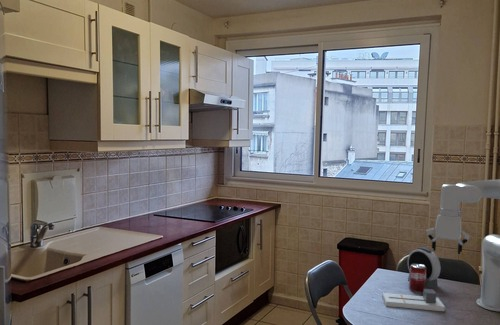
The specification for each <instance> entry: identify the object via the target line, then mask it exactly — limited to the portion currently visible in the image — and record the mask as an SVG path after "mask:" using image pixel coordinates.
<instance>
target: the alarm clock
mask: <svg viewBox="0 0 500 325" xmlns="http://www.w3.org/2000/svg"><path fill="white" fill-rule="evenodd" d="M406 262H407V268H408V271H409V272H410V266H411V264H421V265H424V266H426V268H427V270H426V287H425V289H433V288H437V287H438V286H439V285H438V278H439V276H440V274H441V270H442V268H441V262H440V259H439V257H438V256H437V254H436V253H435V252H433V251H432V250H431V249H430V248H428V247H426V246H422V247H421V246H420V247H417V249H414V250H412V251H410V253H409V254H408V257H407V261H406ZM409 280H410V273H409V274H408V278H407V281H408V282H409Z"/></svg>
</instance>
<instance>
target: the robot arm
mask: <svg viewBox="0 0 500 325" xmlns="http://www.w3.org/2000/svg"><path fill="white" fill-rule="evenodd" d="M482 198H488V199H493V200H495V199H496V200H500V179H499V178H498V179H486V180H484V179H483V180H474V181H473V180H471V181H464V182H458V183H455V184H453V183H452V184H451V183H444V184H443V185H442V186H441V190H440V203H439V214H437V216H436V221H435V226H434V227H432V228H429V229H426V231H425V232H426V235H427V237H428V238H429V240H430V241H431V249H432V250H433V251H434V252H436V248H437V245H436V244H437V240H438V239H442V240H449V241H451V240H452V241H457V242H458V244H457V254H458V255H460V254H461V253H462V251H463V245H464V244H466V243H467V242H468V241H469V239H470V238H471V235H470V234H469V233H467V232H465V231H464V230H462V219H461V218H462V217H461V216H462V215H463V214H464V212H463V211H461V210H460V204H461V203H462V202H463V203H468V204H469V203H470V204H475V203H477V202H480V200H481V199H482ZM433 232H434V235H431V233H433ZM462 235H463V237H464V238H463V239H461V238H462V237H461V236H462ZM433 251H432V252H433ZM481 253H482V271H481V272H482V273H481V288H480V298H477V299H476V302H475V303H476V304H477V306H478V307H481V308H483V309H486V310H488V311H494V312H498V313H499V312H500V235H499V234H495V233H494V234H488V235H486V236H485V237H484V238H483V239H482V242H481Z"/></svg>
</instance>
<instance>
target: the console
mask: <svg viewBox="0 0 500 325" xmlns="http://www.w3.org/2000/svg"><path fill="white" fill-rule="evenodd" d="M381 296H382V300H383V302H384V305H385V306H386V307H394V308H405V309H415V310H426V311H437V312H445V308H446V307H445V305H444V303H443V302H442V301H441V299H440V298H439V297H436V303H432V302H426V301H425V300H424V298H423V295H414V294H413V295H412V294H400V293H387V292H382V295H381Z"/></svg>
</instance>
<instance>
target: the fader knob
mask: <svg viewBox="0 0 500 325" xmlns="http://www.w3.org/2000/svg"><path fill="white" fill-rule="evenodd" d="M422 296H423V298H424V300H425V301H426V302H432V303H436V298H437V292H436V291H435V290H434V289H433V288H429V289H428V288H425V289H424V290H423V292H422Z"/></svg>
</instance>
